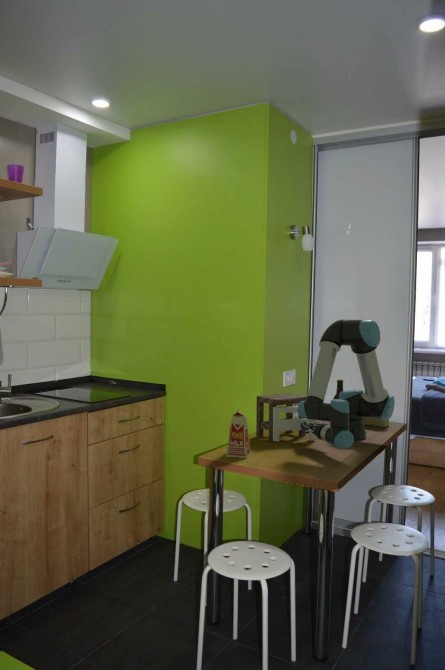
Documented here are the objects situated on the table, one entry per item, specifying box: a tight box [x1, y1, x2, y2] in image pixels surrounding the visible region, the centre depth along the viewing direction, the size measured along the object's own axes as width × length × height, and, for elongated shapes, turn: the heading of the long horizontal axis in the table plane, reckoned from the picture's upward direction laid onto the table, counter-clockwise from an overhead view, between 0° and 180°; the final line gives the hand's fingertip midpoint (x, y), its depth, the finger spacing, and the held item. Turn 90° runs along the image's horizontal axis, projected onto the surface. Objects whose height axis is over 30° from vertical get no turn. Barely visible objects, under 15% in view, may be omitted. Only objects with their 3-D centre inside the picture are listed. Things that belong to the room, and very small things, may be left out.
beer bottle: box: [332, 379, 344, 400], centre depth 302 cm, size 8×8×24 cm
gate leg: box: [272, 405, 317, 442], centre depth 252 cm, size 2×20×16 cm, turn 101°
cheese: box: [363, 417, 390, 428], centre depth 295 cm, size 22×10×15 cm, turn 60°
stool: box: [255, 392, 307, 442], centre depth 261 cm, size 16×22×20 cm
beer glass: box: [293, 403, 299, 419], centre depth 302 cm, size 7×7×15 cm
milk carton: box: [225, 408, 251, 459], centre depth 225 cm, size 9×9×20 cm
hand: (301, 423), depth 251 cm, fingers closed
